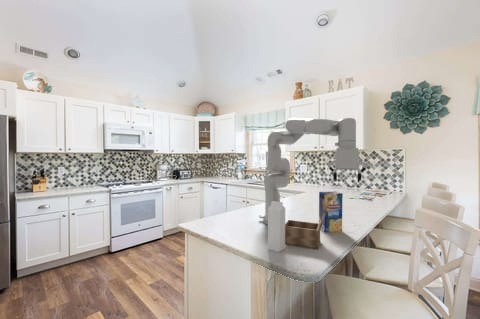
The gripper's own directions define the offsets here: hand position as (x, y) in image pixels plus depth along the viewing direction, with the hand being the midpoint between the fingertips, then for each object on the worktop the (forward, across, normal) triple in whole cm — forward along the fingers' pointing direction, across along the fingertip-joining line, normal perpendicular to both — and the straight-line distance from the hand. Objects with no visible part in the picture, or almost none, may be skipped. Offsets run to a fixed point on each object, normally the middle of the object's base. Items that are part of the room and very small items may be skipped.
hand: (347, 181), depth 107 cm
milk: (+31, -30, -14) cm, 46 cm away
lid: (+14, -10, -2) cm, 18 cm away
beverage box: (+31, -9, +26) cm, 42 cm away
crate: (+31, -20, -2) cm, 37 cm away
